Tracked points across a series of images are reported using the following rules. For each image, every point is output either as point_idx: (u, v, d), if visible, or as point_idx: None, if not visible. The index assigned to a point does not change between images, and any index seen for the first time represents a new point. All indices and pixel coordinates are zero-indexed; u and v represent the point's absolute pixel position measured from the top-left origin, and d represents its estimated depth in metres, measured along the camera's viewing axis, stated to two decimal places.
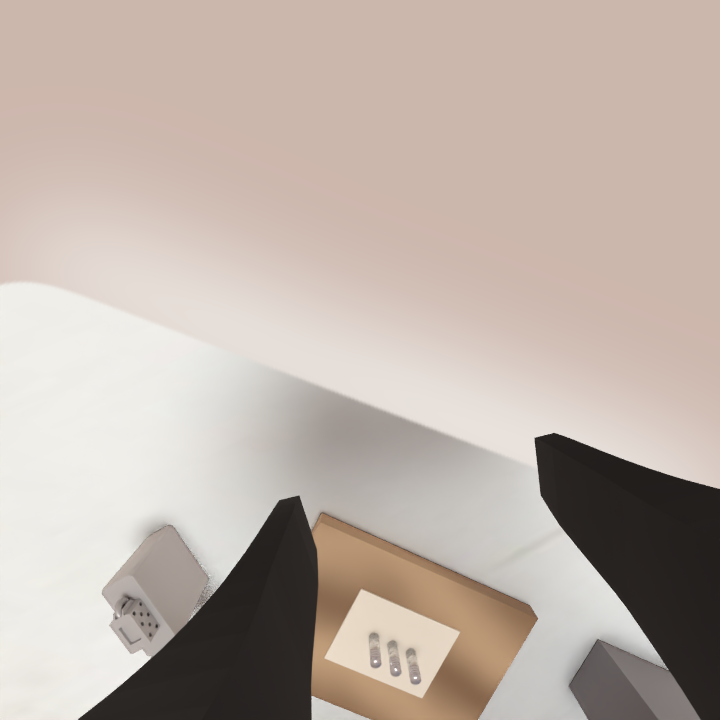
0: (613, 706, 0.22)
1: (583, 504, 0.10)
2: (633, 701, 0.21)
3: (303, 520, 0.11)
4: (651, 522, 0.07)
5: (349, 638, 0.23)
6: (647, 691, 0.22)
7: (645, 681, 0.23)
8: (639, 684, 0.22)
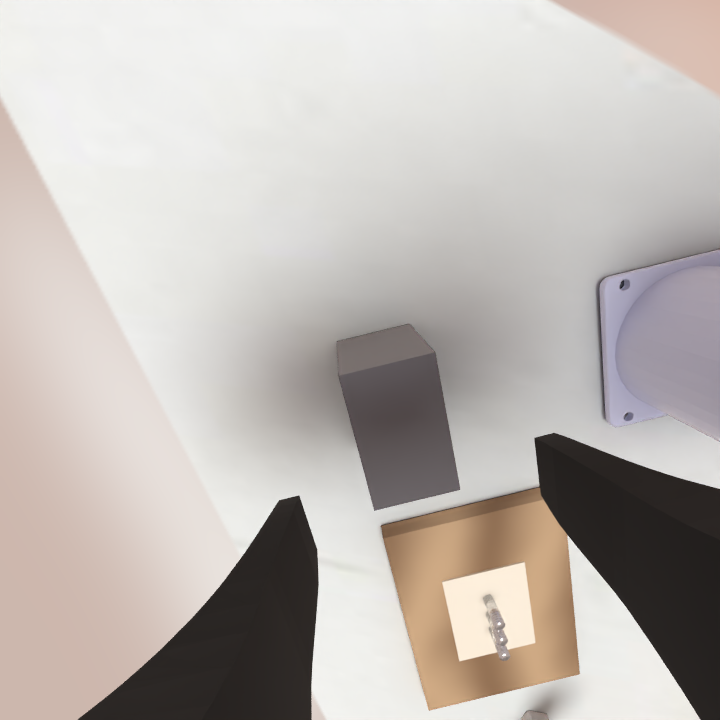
0: None
1: (583, 504, 0.10)
2: None
3: (303, 520, 0.11)
4: (651, 522, 0.07)
5: (506, 638, 0.24)
6: None
7: None
8: None
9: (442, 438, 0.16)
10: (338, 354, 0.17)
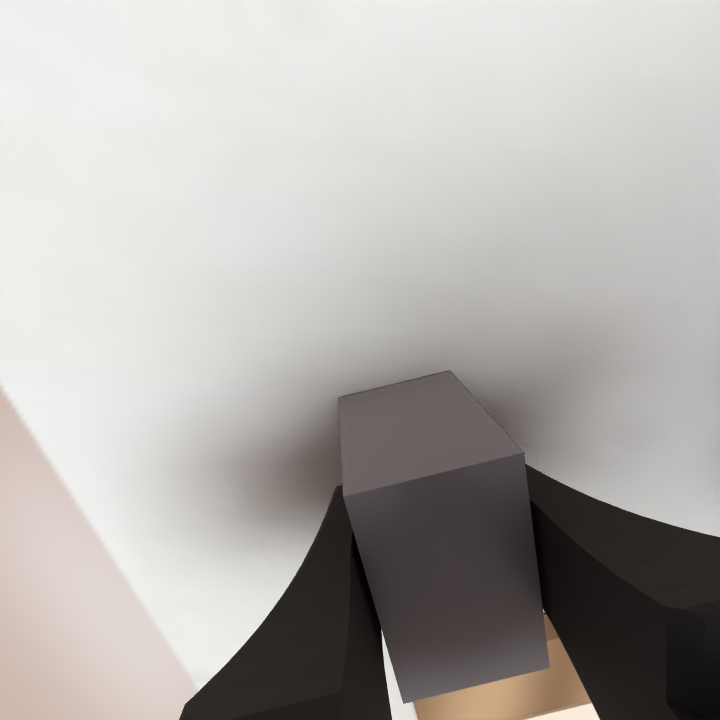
0: None
1: None
2: None
3: None
4: (561, 544, 0.07)
5: None
6: None
7: None
8: None
9: (527, 592, 0.09)
10: (341, 431, 0.10)
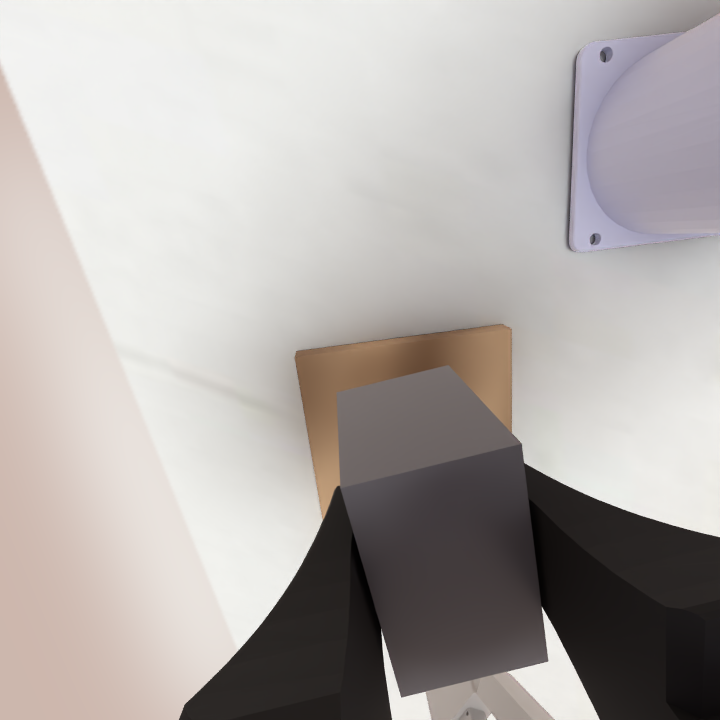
0: None
1: None
2: None
3: None
4: (561, 544, 0.07)
5: None
6: None
7: None
8: None
9: (525, 584, 0.09)
10: (339, 424, 0.10)
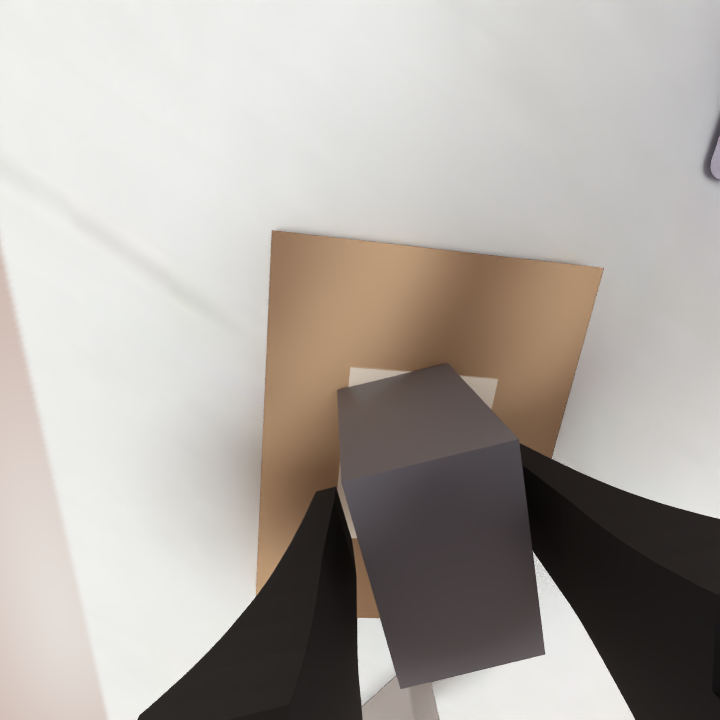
0: None
1: (539, 515, 0.10)
2: None
3: (341, 511, 0.11)
4: (593, 536, 0.07)
5: None
6: None
7: None
8: None
9: (522, 578, 0.09)
10: (340, 421, 0.10)
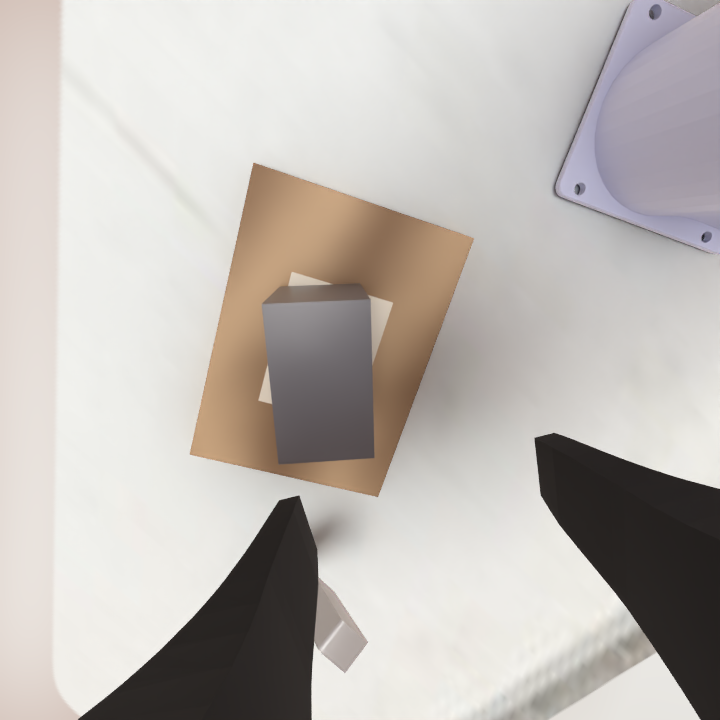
0: None
1: (583, 504, 0.10)
2: None
3: (303, 520, 0.11)
4: (651, 522, 0.07)
5: None
6: None
7: None
8: None
9: (365, 397, 0.14)
10: (274, 293, 0.16)
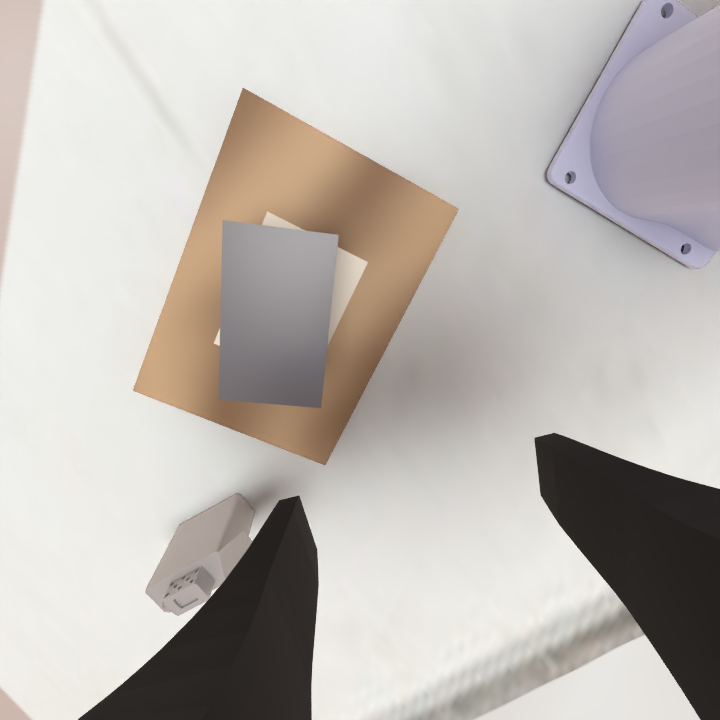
0: None
1: (583, 504, 0.10)
2: None
3: (303, 520, 0.11)
4: (651, 522, 0.07)
5: None
6: None
7: None
8: None
9: (319, 340, 0.14)
10: None
